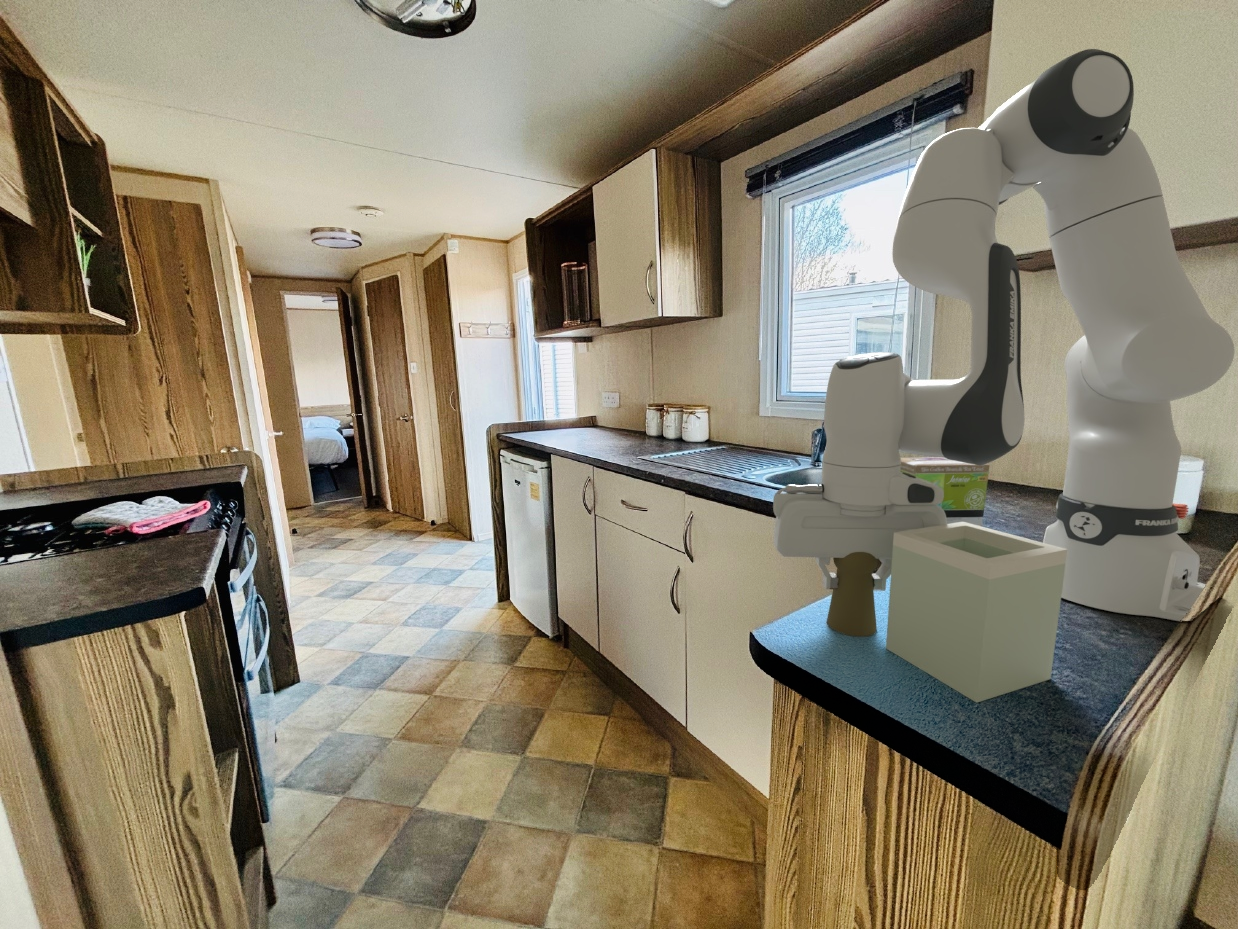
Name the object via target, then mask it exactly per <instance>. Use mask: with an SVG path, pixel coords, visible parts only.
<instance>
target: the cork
mask: <svg viewBox="0 0 1238 929" xmlns="http://www.w3.org/2000/svg"><path fill="white" fill-rule="evenodd" d="M832 560H833V563H834V564H833V565H834V566H835V567H836V573H835V574H836V576H837V577H838V584H837V585H838V589H832V594H831V599H830V604H829V607H828V608H829V609H828V613H827V618H826V624H827V625H828V627H829V628H830V629H832V630H834V631H836V632H837V633H840V634H842V635H846V636H849V637H858V638H859V637H860V638H865V637H870V636H873V635H875V634H876V633H877V632H878V630H877V629H878V627H877V616H876V605H875V596H874V592H875V591H873V580H872V573H873V572H874V571H875V570H876V569H877V566H878V564H879V562H878V560H879V559H876V558H875V557H874V556H873V555H872V554H870V553H866V552H854V553H850V554H849V555H847V556H845V557H844V558H832Z"/></svg>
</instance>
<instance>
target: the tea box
mask: <svg viewBox="0 0 1238 929" xmlns="http://www.w3.org/2000/svg"><path fill="white" fill-rule="evenodd" d="M900 458H901V469H900V472H901V473H907V474H910V475H913V476H915V477H918V478H921V479H924V480H926V481H929V482H931V483H933V484H935V485H937V486H939V487H940V488H942V489H943V491H944V497H943V501H942V502H941V503H940V504H937V505H938V506H940V507H941V508H942V509H943V510H944V512H945V514H946V519H947V524H951V523H957V522H967V523H970V524H974V525H978V526H982V527H983V521H984V514H985V508H986V507H985V505H986V498H987V497H986V496H987V490H988V489H987V487H988V481H989V472H990V463H987V464H984V465H975V464H970V463H965V462H960V461H954V460H949V459H947V458H942V457H933V456H923V457H900Z"/></svg>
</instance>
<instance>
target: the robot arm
mask: <svg viewBox="0 0 1238 929" xmlns="http://www.w3.org/2000/svg"><path fill="white" fill-rule="evenodd" d="M1134 87H1135V86H1134V79H1133V76H1132V73H1131V70H1130V68H1129V66H1128V65H1127V63H1126V62H1125V61H1124V60H1123V59H1122V58H1120V57H1119V56H1118V55H1116V54H1115V53H1111V52H1109V51H1106V50H1105V51H1104V50H1102V49H1099V48H1098V49H1097V48H1088V49H1083V50H1081V51H1077V52H1076V53H1073V54H1071V55H1069V56H1067V57H1066V58H1064V59H1062V60H1060V61H1058V62H1057V63H1055V64H1053V65H1052V66H1050V67H1049V68H1047V69H1046V70H1044V71H1043V72H1042V73H1041V74H1040V75H1039V76H1038V77H1037V78H1036V80H1034V81H1032V82H1031V83H1030V84H1028V85H1026V86H1025V87H1024V88H1023V89H1021V90H1020V91H1019V92H1017V93H1016V94H1015V95H1012V97H1011V98H1009V99H1008V100H1007V101H1006V102H1004V103H1003V104H1002V105H1001V106H999V107H998V108H997V109H996V110H995V111H994V112H993V114H992V115H991V116H990V117H988V118H987V119H986V121H984V122H983V123H982V124H981V125H980V126H979V127H978V128H977V127H964V128H959V129H958V128H957V129H956V130H952V131H949V132H947V133H944V134H942V135H940V136H939V137H937V138H936V139H934V140H933V141H932V142H931V143H930V144H929V145H928V146H927V147H926V148H925V149H924V150H923V152H922V153H921V155H920V157H919V158H918V161H917V163H916V165H915V167H914V170H913V172H912V175H911V177H910V180H909V181H908V185H907V187H906V190H905V194H904V196H903V200H902V203H901V206H900V211H899V215H898V219H897V223H896V227H895V232H894V237H893V242H892V253H891V254H892V262H893V265H894V267H895V270H896V272H897V273H898V274H899V275H900V277H901V278H902V279H903V280H905V282H907V283H908V284H910V285H912V286H913V287H915V288H917V289H919V290H922V291H925V292H928V293H930V294H934V295H938V296H943V297H947V298H951V299H955V300H959V301H962V302H966V303H967V304H969V307H970V310H971V331H970V332H971V335H970V368H969V371H968V373H966V375H964V376H963V377H961V378H955V379H954V378H948V379H947V378H946V379H945V378H944V379H941V378H940V379H937V378H935V379H920V378H919V379H918V378H912V377H911V376H908V375H906V374H905V373H904V365H903V360H902V357H901V355H899V354H898V353H895V352H890V351H875V352H874V351H873V352H865V353H861V354H859V353H858V354H854V355H849V356H846V357H843V358H841V359H839V360H838V361H836V362H834V364H833V366H832V368H831V372H830V374H829V379H828V382H827V387H826V388H827V389H826V392H825V394H826V395H825V404H824V417H823V418H824V419H823V429H824V432H825V438H826V445H825V450H824V452H823V455H822V463H821V464H822V465H821V483H820V484H803V485H801V484H786V485H785V487H783V488H780V489H779V490H778V491H776V492H775V493H774V495H773V504H772V508H773V509H772V510H773V513H774V516H775V521H774V528H773V542H772V543H773V546H774V548H775V549H776V551H777V552H778V553H779V554H780V555H781V557H783V558H814V561H815V563H816V564H817V566H818V568H819V569H820V571H821V572H822V586H823V588H824V589H825V590H833V589H838V585H837V584H838V577H837V576H836V573H835V572H830V571H829V569H828V567H827V566H830V565H831V559H833V558H844V557H845V556H847V555H849V554H850V553H854V552H866V553H870V554H872V555H873V556H874V557H875V558H876V559H878V560H879V561H880V562H881V564H880V566H879V568H878V569H877V571H876V572H875V573H873V572H872V580H873V592H877V591H879V592H885V591H886V588H887V579H889V577H891V567H892V553H893V539H894V532H900V531H906V530H913V529H919V528H925V527H932V526H938V525H947V519H946V514H945V512H944V510H943V509H942V508H941V507H940V506H938V505H937V504H940V503H941V502H942V501H943V497H944V491H943V489H942V488H940V487H939V486H937V485H935V484H933V483H931V482H929V481H926V480H924V479H921V478H918V477H915V476H913V475H910V474H907V473H901V472H900V469H901V458H902V457H901V454H900V453H904V454H907V455H915V456H917V455H918V456H923V457H942V458H947V459H949V460H954V461H960V462H965V463H970V464H975V465H984V464H990V463H992V462H994V461H995V460H998V459H1000V458H1002V457H1003V456H1005V455H1007V454H1009V453H1010V452H1011V451H1013V450H1014V449H1015V448H1016V447H1017V446H1019V444H1020V442H1021V440H1022V436H1023V433H1024V427H1025V406H1024V394H1023V387H1022V372H1021V371H1022V370H1021V369H1022V368H1021V365H1022V362H1021V360H1022V359H1021V357H1022V355H1021V351H1022V344H1021V343H1022V340H1021V339H1022V312H1021V311H1022V295H1021V294H1022V293H1021V292H1022V291H1021V278H1020V275H1021V274H1020V269H1019V264H1018V262H1017V260H1018V259H1017V258H1016V255H1015V254H1014V251H1013V250H1012V248H1010V246H1009V245H1005V244H1003V243H1000V242H998V240H997V237H996V232H995V230H996V229H995V226H996V221H997V214H998V210H999V206H1000V205H1002V204H1003V203H1005V202H1007V201H1008V200H1009V199H1011V198H1012V197H1014V196H1016V195H1019V194H1021V193H1024V192H1025V191H1027V190H1028V189H1031V188H1032V189H1033V190H1035V191H1036V192H1037V193H1038V194H1039V195H1040V197H1041V199H1042V200H1043V206H1044V208H1043V209H1044V218H1045V225H1046V230H1047V235H1048V238H1049V239H1048V240H1049V243H1050V244H1049V245H1050V248H1051V253H1052V257H1053V261H1054V265H1055V270H1056V274H1057V279H1058V283H1059V288H1060V291H1061V293H1062V296H1063V297H1064V298H1065V299H1066V300H1067V302H1068V304H1069V305H1070V307H1071V308H1072V311H1073V313H1074V314H1075V317H1076V319H1077V321H1078V323H1079V325H1080V327H1081V329H1082V331H1083V332H1082V333H1083V336H1082V337H1080V338H1079V339H1078V340H1077V341H1076V342H1075V343H1074V344H1073V345H1072V346H1071V348H1070V349H1069V350H1068V352H1067V353H1066V356H1065V359H1064V364H1063V367H1064V368H1063V369H1064V373H1065V378H1066V379H1065V380H1066V411H1067V412H1066V414H1067V422H1068V423H1067V424H1068V447H1067V448H1068V450H1067V456H1066V458H1067V459H1066V466H1065V475H1064V483H1063V490H1062V491H1063V492H1061V493H1060V494H1059V495H1058V500H1057V501H1056V505H1055V506H1056V511H1055V513H1056V514H1055V517H1056V518H1057V520H1056V521H1055V522H1054V523H1051V524H1049V525H1048V526H1047V527H1046V528H1045V533H1044V537H1043V540H1042V543H1046V544H1049V545H1053V546H1057V547H1061V548H1064V549H1068V550H1067V557H1066V565H1065V572H1064V580H1063V588H1062V595H1061V599H1063V600H1067V601H1071V602H1073V603H1076V604H1079V605H1084V606H1086V607H1090V608H1094V609H1098V610H1104V611H1108V612H1113V613H1118V614H1126V615H1135V616H1146V617H1155V618H1160V619H1167V620H1169V621H1170V620H1171V621H1176V622H1181V621H1180V620H1181V619H1182V618H1183V617H1184V616H1185V615H1186V613H1188V611H1189V610H1190V608H1191V607H1192V605H1193V604H1194V602H1195V601H1196V599H1197V597H1199V595H1200V593H1201V592H1202V591H1203V588H1204V587H1205V585H1206V584H1205V583H1202V582H1199V581H1198V578H1199V571H1200V570H1199V569H1200V563H1201V562H1200V561H1201V559H1200V555H1199V553H1197V552H1196V551H1195V550H1194V549H1193V548H1192V547H1191V546H1190V545H1189V544H1188V543H1187V542H1186V541H1184V539H1183V538H1182V537H1181V536H1179V534H1178V533H1176V532H1178V531H1179V525H1178V524H1179V523H1178V522H1179V520H1180V519H1182V520H1183V519H1186V518H1187V515H1188V514H1189V513H1188V512H1189V510H1190V509H1189V506H1188V504H1183V503H1182V504H1181V503H1173V502H1174V497H1175V492H1176V484H1177V479H1178V473H1179V467H1180V459H1181V456H1182V447H1181V446H1182V444H1181V443H1180V440H1179V438H1178V436H1177V434H1176V431H1175V427H1174V420H1173V415H1172V406H1171V402H1172V401H1176V400H1179V399H1184V398H1186V397H1189V396H1193V395H1195V394H1198V393H1201V392H1202V391H1204V390H1207V389H1209V388H1211V387H1212V386H1214V385H1215V384H1216V383H1217V382H1219V380H1221V378H1223V377H1224V376H1225V374H1227V372H1228V370H1229V369H1230V367H1231V366H1232V363H1233V361H1234V357H1235V344H1234V341H1233V338H1232V336H1231V335H1230V334H1229V332H1228V331H1227V330H1226V329H1225V328H1224V327H1223V326H1222V325H1220V324H1219V323H1217V322H1216V321H1215V319H1213V318H1212V317H1211V316H1210V314H1209V313H1208V312H1207V309H1206V308H1205V306H1204V304H1203V302H1202V300H1201V299H1200V297H1199V295H1198V293H1197V292H1196V289H1195V288H1194V286H1193V284H1192V283H1191V281H1190V279H1189V278H1188V275H1187V274H1186V272H1185V270H1184V268H1183V267H1182V264H1181V262H1180V259H1179V256H1178V253H1177V250H1176V247H1175V242H1174V239H1173V234H1172V230H1171V226H1170V222H1169V217H1168V213H1167V210H1166V209H1167V208H1166V205H1165V199H1164V195H1163V194H1164V193H1163V191H1162V188H1161V183H1160V180H1159V177H1158V173H1157V171H1156V168H1155V166H1154V164H1153V161H1152V159H1151V156H1150V155H1149V152H1148V150H1147V148H1146V146H1145V145H1144V143H1143V140H1142V139H1141V138H1140V136H1139V134H1138V133H1137V132H1136V131H1134V130H1133V129H1131V128H1129V126H1130V122H1131V115H1132V109H1133V106H1134V105H1133V104H1134V95H1135V92H1134V91H1135V90H1134V89H1135V88H1134Z"/></svg>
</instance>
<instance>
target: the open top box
mask: <svg viewBox="0 0 1238 929" xmlns="http://www.w3.org/2000/svg"><path fill="white" fill-rule="evenodd" d="M1067 550H1068V549H1064V548H1061V547H1057V546H1053V545H1049V544H1046V543H1043V541H1037V540H1035V539H1029V538H1026V537H1023V536H1019V535H1015V534H1012V533H1008V532H1004V531H1000V530H996V529H993V528H988V527H985V526H983V525H982V526H978V525H974V524H970V523H967V522H957V523H951V524H947V525H938V526H932V527H925V528H919V529H913V530H906V531H900V532H894V539H893V553H892V567H891V575H890V581H889V583H890V585H889V586H890V587H889V596H888V610H887V611H888V612H887V613H888V614H887V626H886V628H887V629H886V639H885V649H886V650H888V651H890V652H892V653H893V654H895V655H896V656H898V657H900V658H901V659H903V660H905V661H906V662H908V663H910V664H912V665H914V667H916V668H917V669H920V670H921V671H923V672H925V673H926V674H928V675H929V676H930V677H933V678H935V679H936V680H938V681H940V682H941V683H943V684H944V685H946V686H949V688H952V689H953V690H955V691H956V692H957V693H960V694H961V695H963V696H965V697H966V698H968V699H969V700H971V701H973V702H974V703H976V704H977V703H980V702H983V701H987V700H989V699H992V698H996V697H998V696H1002V695H1005V694H1008V693H1011V692H1014V691H1017V690H1022V689H1025V688H1028V687H1030V686H1033V685H1037V684H1039V683H1042V682H1046V681H1048V680H1051V678H1052V671H1053V663H1054V656H1055V655H1054V654H1055V647H1056V640H1057V634H1058V633H1057V632H1058V624H1059V617H1060V610H1061V601H1062V598H1061V595H1062V588H1063V580H1064V572H1065V565H1066V557H1067Z"/></svg>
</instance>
